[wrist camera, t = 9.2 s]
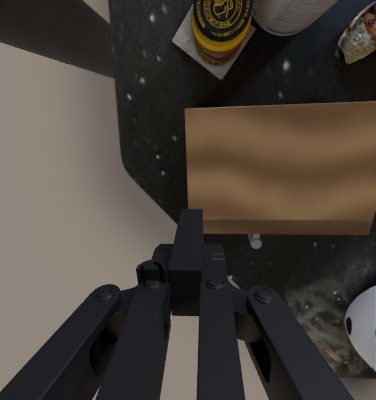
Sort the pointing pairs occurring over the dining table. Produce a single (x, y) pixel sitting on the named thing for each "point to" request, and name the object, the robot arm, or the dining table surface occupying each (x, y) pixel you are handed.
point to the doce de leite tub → (363, 324)
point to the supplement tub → (288, 14)
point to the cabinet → (283, 168)
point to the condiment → (216, 32)
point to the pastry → (359, 35)
